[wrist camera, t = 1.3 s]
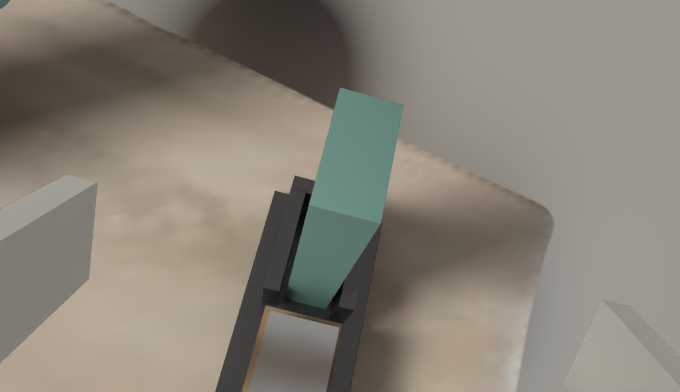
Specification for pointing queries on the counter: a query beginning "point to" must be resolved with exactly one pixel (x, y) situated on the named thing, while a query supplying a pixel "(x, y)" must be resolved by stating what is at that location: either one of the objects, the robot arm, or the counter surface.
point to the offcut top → (294, 355)
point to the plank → (345, 195)
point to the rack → (271, 289)
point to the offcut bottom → (260, 337)
